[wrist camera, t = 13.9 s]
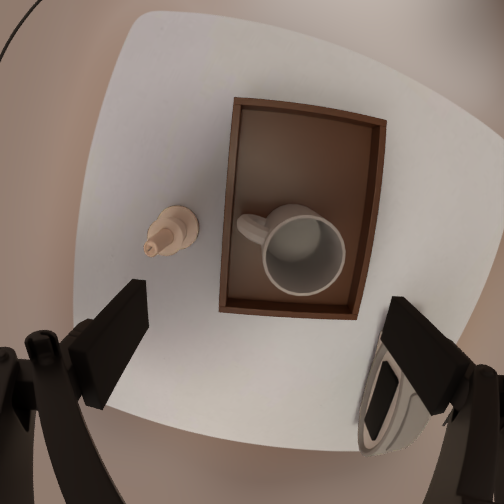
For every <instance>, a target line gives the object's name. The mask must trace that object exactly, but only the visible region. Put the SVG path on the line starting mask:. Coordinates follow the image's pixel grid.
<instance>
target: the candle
mask: <svg viewBox="0 0 504 504" xmlns="http://www.w3.org/2000/svg"><path fill="white" fill-rule="evenodd" d="M198 232H199V224H198V220H197V218H196V216H195V214H194V213H193V212H192V211H191V210H189V209H188V208H186V207H183V206H171V207H168V208H167V209H165V210H163V211H162V212H161V213H160V215H159V217H158V218H157V220H156V221H155V222H153V223H152V224H151V225H150V227H149V229H148V233H147V240H148V241H146V243H145V244H144V252H145V254H146V255H147V256H149V257H154V256H156V255H157V254H159V255H162V256H170V255H173V254H175V253H177V252H178V251H179V250H181V249H185V248H187V247H189V246H190V245H191V244H192V243H194V241H195V240H196V238H197V236H198Z"/></svg>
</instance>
